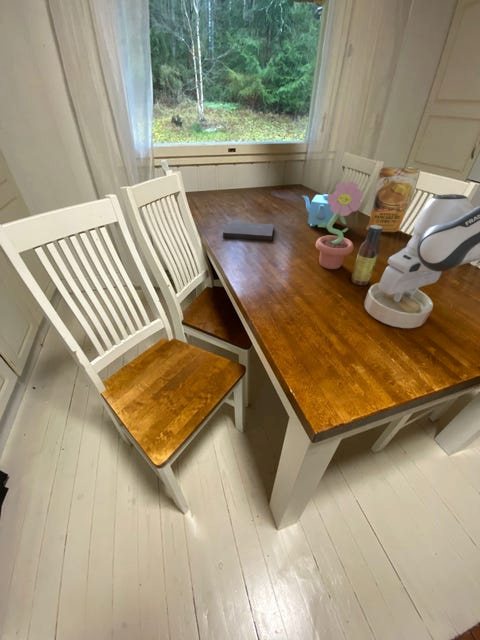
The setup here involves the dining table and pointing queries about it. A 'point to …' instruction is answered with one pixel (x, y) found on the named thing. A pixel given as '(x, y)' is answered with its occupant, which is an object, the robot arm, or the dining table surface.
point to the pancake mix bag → (393, 197)
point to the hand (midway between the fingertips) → (401, 299)
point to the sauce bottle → (367, 256)
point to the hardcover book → (249, 230)
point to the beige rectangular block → (404, 303)
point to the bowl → (397, 308)
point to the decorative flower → (337, 246)
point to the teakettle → (318, 210)
